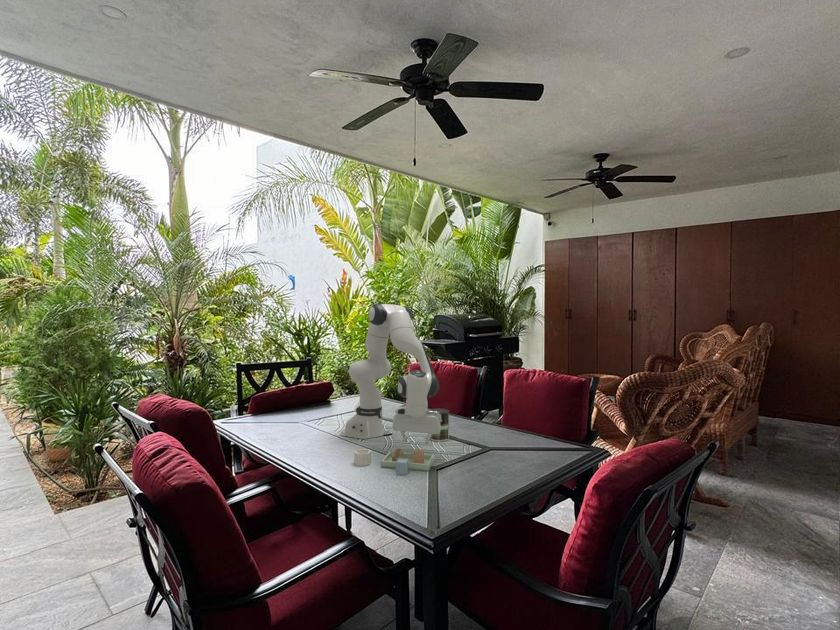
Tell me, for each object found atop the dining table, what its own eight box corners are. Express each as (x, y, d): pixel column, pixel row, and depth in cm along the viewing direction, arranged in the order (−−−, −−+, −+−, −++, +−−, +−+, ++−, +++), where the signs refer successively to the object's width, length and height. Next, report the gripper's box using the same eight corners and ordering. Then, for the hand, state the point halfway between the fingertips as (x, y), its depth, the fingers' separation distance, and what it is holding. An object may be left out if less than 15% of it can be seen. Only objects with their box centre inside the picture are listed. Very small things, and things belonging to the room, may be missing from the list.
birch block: (391, 463, 183) (391, 451, 183) (394, 459, 187) (394, 448, 187) (401, 463, 182) (401, 452, 182) (403, 460, 186) (403, 448, 186)
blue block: (396, 474, 172) (396, 462, 172) (398, 471, 176) (398, 458, 176) (406, 475, 171) (406, 462, 171) (408, 471, 175) (408, 459, 175)
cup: (352, 465, 182) (352, 453, 182) (358, 459, 188) (358, 448, 188) (367, 466, 180) (367, 454, 180) (372, 461, 187) (372, 449, 187)
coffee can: (444, 442, 212) (444, 413, 212) (425, 439, 217) (425, 411, 217) (452, 437, 221) (452, 409, 221) (434, 434, 226) (434, 407, 226)
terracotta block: (412, 464, 181) (412, 452, 181) (414, 461, 185) (414, 449, 185) (422, 465, 180) (422, 453, 180) (424, 462, 184) (424, 450, 184)
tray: (381, 467, 180) (381, 461, 180) (389, 457, 191) (389, 451, 191) (429, 471, 176) (429, 464, 175) (434, 460, 187) (434, 454, 187)
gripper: (442, 409, 184) (441, 442, 184) (395, 406, 188) (395, 437, 189) (440, 413, 178) (439, 447, 178) (391, 409, 182) (391, 442, 183)
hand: (416, 442), depth 184 cm, fingers open, 8 cm apart
